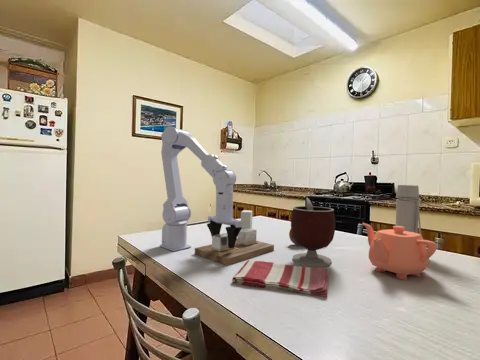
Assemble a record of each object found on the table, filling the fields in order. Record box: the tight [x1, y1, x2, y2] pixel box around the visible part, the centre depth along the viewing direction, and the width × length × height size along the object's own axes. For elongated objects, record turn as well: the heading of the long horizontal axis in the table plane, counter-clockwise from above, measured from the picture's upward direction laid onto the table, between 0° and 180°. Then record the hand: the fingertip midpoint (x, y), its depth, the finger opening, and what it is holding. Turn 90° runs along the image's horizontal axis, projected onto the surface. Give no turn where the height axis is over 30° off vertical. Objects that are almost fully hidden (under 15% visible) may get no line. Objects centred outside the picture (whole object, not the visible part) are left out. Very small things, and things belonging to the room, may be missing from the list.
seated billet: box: [237, 228, 258, 247], centre depth 99 cm, size 4×6×7 cm, turn 137°
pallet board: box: [194, 237, 275, 266], centre depth 94 cm, size 16×24×2 cm, turn 137°
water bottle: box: [395, 184, 422, 235], centre depth 98 cm, size 9×8×25 cm
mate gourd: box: [290, 197, 336, 268], centre depth 87 cm, size 16×14×20 cm
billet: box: [211, 232, 233, 253], centre depth 90 cm, size 4×6×7 cm, turn 137°
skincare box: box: [240, 209, 253, 230], centre depth 115 cm, size 6×4×12 cm
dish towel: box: [231, 259, 329, 298], centre depth 71 cm, size 17×23×3 cm
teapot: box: [361, 222, 438, 281], centre depth 78 cm, size 16×17×14 cm
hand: (223, 245), depth 90 cm, fingers open, 7 cm apart
